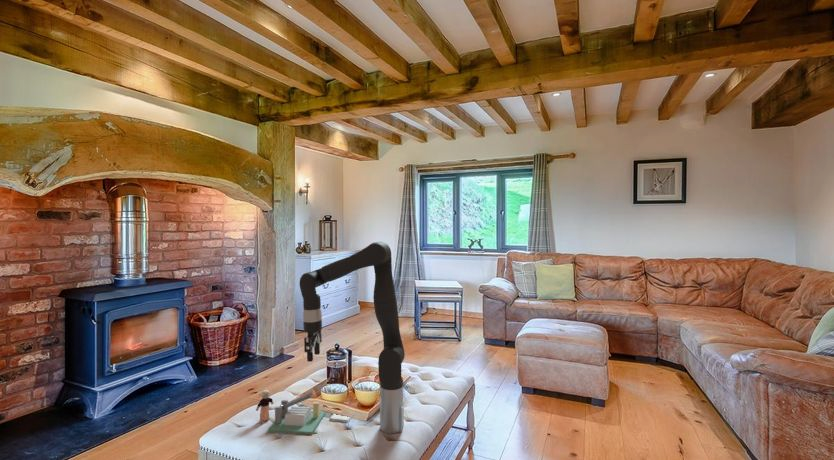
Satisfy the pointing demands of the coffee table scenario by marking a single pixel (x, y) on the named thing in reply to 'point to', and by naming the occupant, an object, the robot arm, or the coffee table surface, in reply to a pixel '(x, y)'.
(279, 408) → the board
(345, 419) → the external hard drive
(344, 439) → the coffee table surface
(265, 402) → the grandmother figurine
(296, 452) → the coffee table surface
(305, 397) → the gray bar
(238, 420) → the coffee table surface
